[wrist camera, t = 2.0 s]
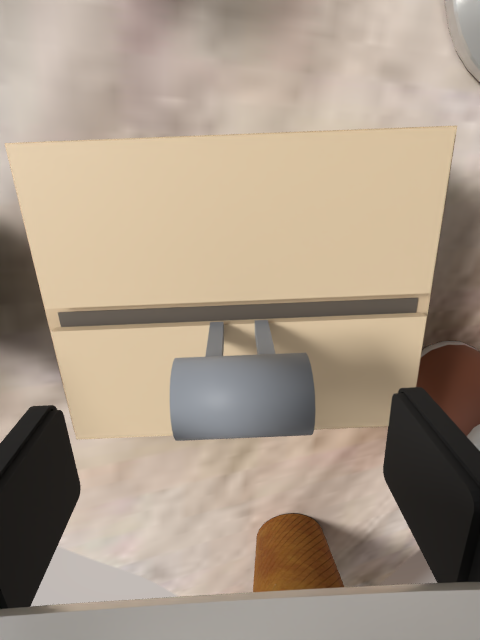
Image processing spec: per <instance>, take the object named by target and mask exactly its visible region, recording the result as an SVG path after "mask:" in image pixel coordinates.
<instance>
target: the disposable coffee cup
mask: <svg viewBox="0 0 480 640" xmlns="http://www.w3.org/2000/svg"><path fill="white" fill-rule="evenodd" d="M341 587H344V585H343V582H342V580H341V577H340V574H339V572H338V570H337V567H336V564H335V562H334V559H333V557H332V554H331V552H330V549H329V546H328V544H327V541H326V539H325V536H324V534H323V531H322V528H321V527H320V525H319V524H318V523H317V522H316V521H315V520H313V519H312V518H310V517H307V516H305V515H300V514H284V515H280V516H277V517H274V518H272V519H270V520H269V521H267V522H266V523H265V524H263V526H262V527H261V528H260V529H259V532H258V534H257V543H256V557H255V572H254V585H253V592H268V591H285V590H303V589H322V588H341Z"/></svg>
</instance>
